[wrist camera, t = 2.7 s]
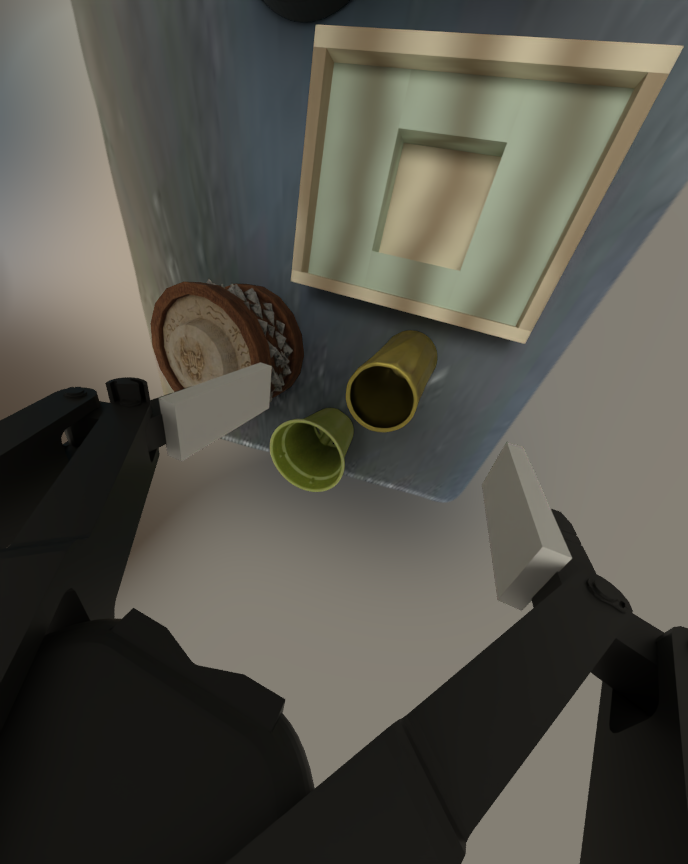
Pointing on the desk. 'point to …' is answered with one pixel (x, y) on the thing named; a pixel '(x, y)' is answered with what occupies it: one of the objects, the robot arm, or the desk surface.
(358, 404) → the vase
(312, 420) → the plant pot
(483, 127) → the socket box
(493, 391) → the desk surface
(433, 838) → the robot arm
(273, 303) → the spiked roller
